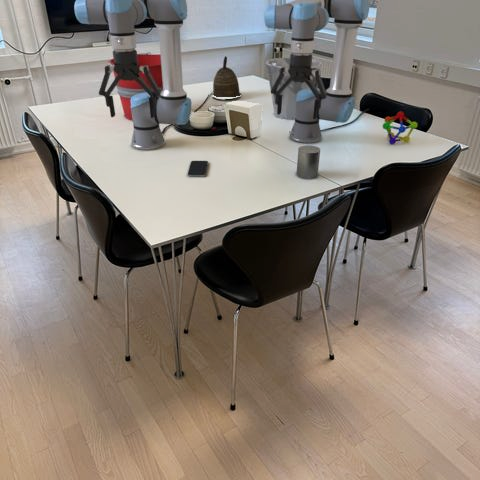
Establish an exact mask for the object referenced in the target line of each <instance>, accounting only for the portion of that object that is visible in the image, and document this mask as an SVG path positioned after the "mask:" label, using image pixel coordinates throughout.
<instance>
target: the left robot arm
mask: <svg viewBox="0 0 480 480" xmlns="http://www.w3.org/2000/svg"><path fill="white" fill-rule="evenodd" d="M73 7H74V9H73V10H74V14H75V17H76V20H77V21H78V22H79V23H80V24H82V25H83V24H84V25H108V29H109V37H110V44H111V48H112V57H113V58H112V59H114V66H110V65H111V64H110V65H107V64H106V65H105V66H104V75H103V78H102V80H101V84H100V88H99V90H98V95H99V96H102V97H104V98H105V105H106V108H109V114H110V118H114V117H116V110H115V102H114V96H113V95H111V94H112V93H113V92H114V90H115V88H116V85H117V84H118V82H119V81H120V79H121V80H123V81H126V80H129V81H133V80H135V81H136V82H138V83H139V84H140V86H141V87H142V88H143V89H144V90H145V91H146V92H145V93H140V94H137V95H134V96H133V97H132V98H131V111H132V119H133V120H132V125H133V132H132V135H131V142H130V143H131V147H132V148H134V149H135V150H141V151H151V150H153V151H154V150H157V149H161V148H163V147H164V146H165V144H166V140H165V137H164V135H163V134H164V133H165V130H166V129H168V128H169V127H172V126H173V125H176V126H180V125H181V126H183V125H186V124H188V122H189V120H190V118H191V115H192V114H191V113H192V99H191V98H190V97H188V94H187V92H186V91H185V90H184V84H183V67H182V65H183V63H182V47H181V45H182V44H181V43H182V42H181V28H182V27H183V25H184V20H186V19H187V18H188V3H187V0H75V1H74V5H73ZM146 19H147V20H148V19H149V20H153V21H154V22H153V23H154V26H156V28H157V29H158V40H159V50H160V51H159V55H161V68H162V81H163V90H162V92H161V91H160V89H159V88H158V86H157V84H156V82H155V81H154V79H153V77H152V75H151V74H150V72H149V67H148V65H145V66H142V67H140V66H139V65H138V57H137V54H138V50H137V49H136V48H137V42H136V31H135V26H136V25H137V26H138V25H140V24H141V23H143V22H144V21H145V20H146ZM113 70H114V71H115V73H116V74H117V76H116V78H115V77H114V79H113V80H112V83H111V84H110V86H109V87H108V88H107V86H108V83H109V79H110V77H111V74H112V73H113ZM140 71H142V73H144V74H145V76H146V78H147V80H148V82H149V83H150V85H151V87H152V89H153V90H154V91H153V90H152V89H151V88H150V87H149V86H148V85H147V84H146V82H145V81H144V80H143V79H142V77H141V76H140V75H139V74H138V73H139V72H140ZM106 88H107V90H106ZM159 95H160V97H157V96H159ZM208 96H209V94H208V95H207V96H206V98H205V100H204V101H203V102H202V104H200V105H199V106H198V107H197V108H196V109H195V110H194V111H196V112H197V111H199V110H200V109H201V108H202V107H203V106H204V105H205V104H206V102H207V101H208V99H209V97H210V96H209V97H208ZM190 114H191V115H190ZM160 125H166V126H165V127H164V128H163V129H162V130H161V127H160Z"/></svg>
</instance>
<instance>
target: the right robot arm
mask: <svg viewBox="0 0 480 480" xmlns="http://www.w3.org/2000/svg"><path fill="white" fill-rule="evenodd" d="M369 13H370V0H292V1H289V2H286V3H284V4H279V5H277V4H269V5H268V6H266V8H265V10H264V14H263V21H264V25H265V27H266V28H268V29H274V30H288V31H289V30H291V38H290V39H291V40H290V53H291V54H290V55H289V57H290V67H289V68H286V67H285V66H284V67H282V68H281V69H280V74H279V76H278V78H277V80H276V82H275V84H274V86H273V88H272V90H270V94H271V93H272V94H274V95H275V104H276V105H278V106H277V114H278V115H279V114H280V113H281V109H282V95H280V94H281V92H282V91H283V90H284V89H285V88H286V87H287V86H288V85H289V84H290V83H291V81H294V82H300V83H303V82H305V83H306V84H307V85H308V86H309V88H310V89H304V90H301V91H299V92H298V93H297V98H296V109H295V119H294V122H293V125H292V128H291V130H289V139H290V141H293V142H295V143H298V144H299V143H300V144H316V143H319V142H321V141H322V132H325V131H329V130H334V129H338V128H342V127H345V126H348V125H351V124H353V123H355V122H356V121H357V120H358V119H359V118H360V117H361V116H362V115H363V114H364V113H366V112H368V111H370V108H367V109H364V110H363V111H362V112H361V113H360V114H359V115H357V117H356V118H355V119H353V120H352V121H349V120H350V118H351V117H352V114H353V112H354V109H355V105H356V98H355V97H354V96H353V91H352V90H351V88H350V87H351V86H350V85H351V80H352V71H353V65H354V57H355V51H356V44H357V39H358V31H359V28H360V27H361V26H362V25H363V21H366V20H367V19H368V17H369ZM329 19H334V20H333V24H334V26H335V27H336V31H335V32H336V33H335V40H334V41H335V42H334V47H333V48H334V49H333V57H332V64H331V65H332V66H331V74H330V82H329V87H328V88H327V89H326V88H325V85H324V82H323V79H322V77H321V69H320V70H319V69H318V70H312V68H311V66H312V60H313V52H314V42H315V32H319V31H321V30H323V29H324V28H325V27H326V26H327V25H328V24H329ZM287 72H288V73H289V75H290V78H289V79H288V80H287V81H286V82H285V83H284V84H283V85H282V87H281V88H280V89H279V90H278V91H277V88H278V86H279V84H280V82H281V80H282V79H283V77H284V75H285V74H286V73H287ZM311 74H313V75H314V77H315V78H316V85H317V84H318V86H317V88H316V85H314V84H313V82H312V80H311V78H310V76H311ZM320 121H326V122H334V123H339V124H341V123H342V124H341V125H335V126H332V127H328V128H324V129H321V126H320ZM348 121H349V122H348Z"/></svg>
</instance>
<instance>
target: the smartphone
mask: <svg viewBox="0 0 480 480" xmlns="http://www.w3.org/2000/svg"><path fill="white" fill-rule="evenodd" d="M208 166H209V161H208V160H191V161H190V164H189V168H188V172H187V176H188V177H206V176H207V170H208Z"/></svg>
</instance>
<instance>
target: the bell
mask: <svg viewBox="0 0 480 480" xmlns="http://www.w3.org/2000/svg"><path fill="white" fill-rule="evenodd" d="M227 63H228V57H227V56H224V58H223V63H222V67H221V68H219V69H218V70H217V71H216V73H215V75H214V78H213V81H212V83H213V84H212V90H213V92H212V95H214V96H216V97H236V96H240V95H241V96H242V93H241V92H240V83H239V80H238V79H239V78H238V77H237V75H236V73H235V72H234V70H232V69H231V68H230V67H227Z"/></svg>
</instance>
